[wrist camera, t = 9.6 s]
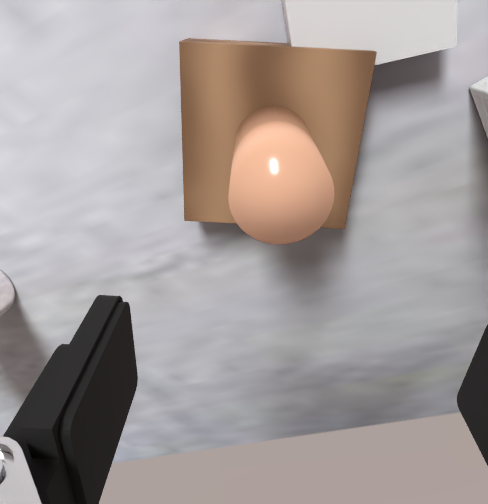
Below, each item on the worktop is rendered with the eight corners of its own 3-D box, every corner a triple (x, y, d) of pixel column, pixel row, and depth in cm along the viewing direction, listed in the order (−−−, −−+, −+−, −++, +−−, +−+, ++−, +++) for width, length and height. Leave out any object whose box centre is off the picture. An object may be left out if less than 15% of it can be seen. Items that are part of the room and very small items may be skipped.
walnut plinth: (362, 47, 29) (376, 51, 25) (335, 207, 35) (344, 228, 31) (188, 38, 29) (179, 41, 25) (191, 200, 35) (184, 220, 31)
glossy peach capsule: (315, 107, 27) (342, 148, 19) (306, 183, 30) (326, 246, 22) (235, 104, 27) (229, 143, 19) (233, 180, 30) (227, 242, 22)
